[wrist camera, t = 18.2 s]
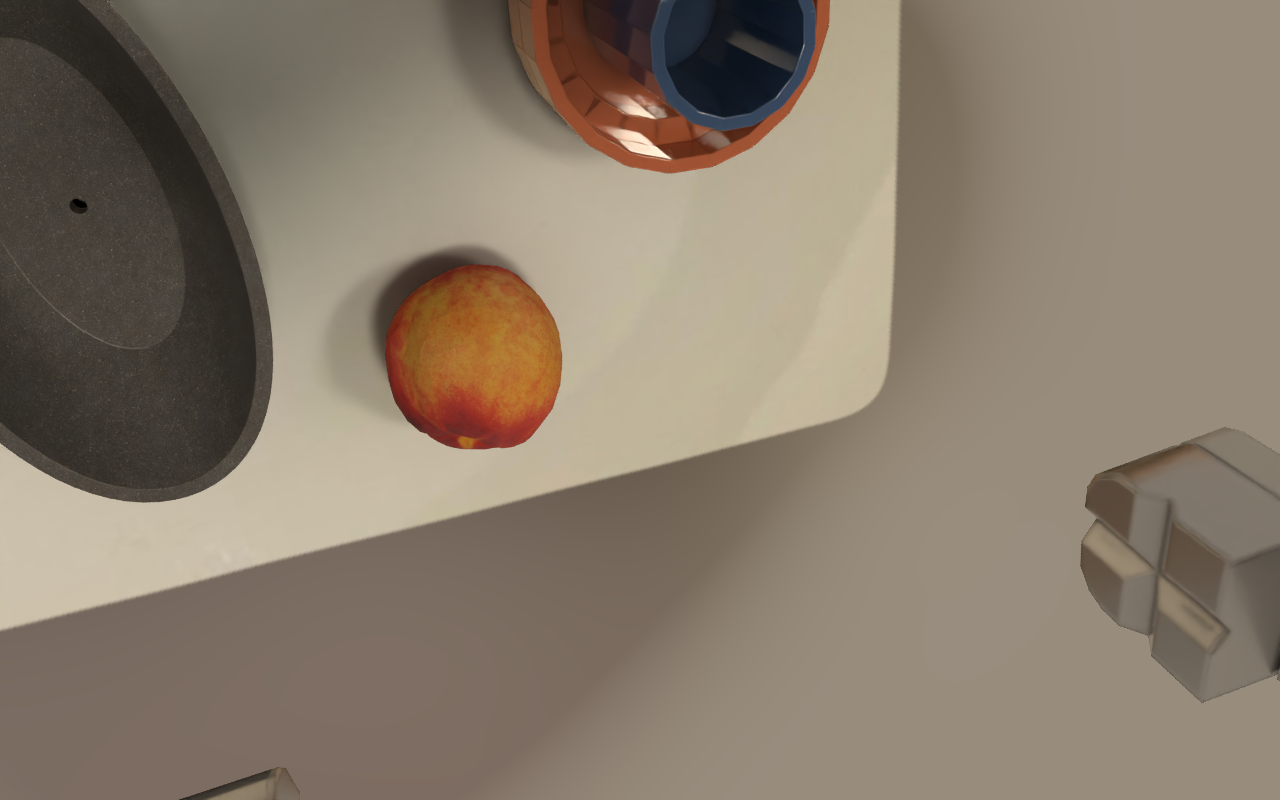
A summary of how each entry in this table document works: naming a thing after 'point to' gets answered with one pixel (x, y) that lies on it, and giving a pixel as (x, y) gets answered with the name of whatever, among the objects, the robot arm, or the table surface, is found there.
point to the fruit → (474, 358)
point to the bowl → (119, 267)
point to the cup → (708, 53)
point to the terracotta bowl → (625, 94)
